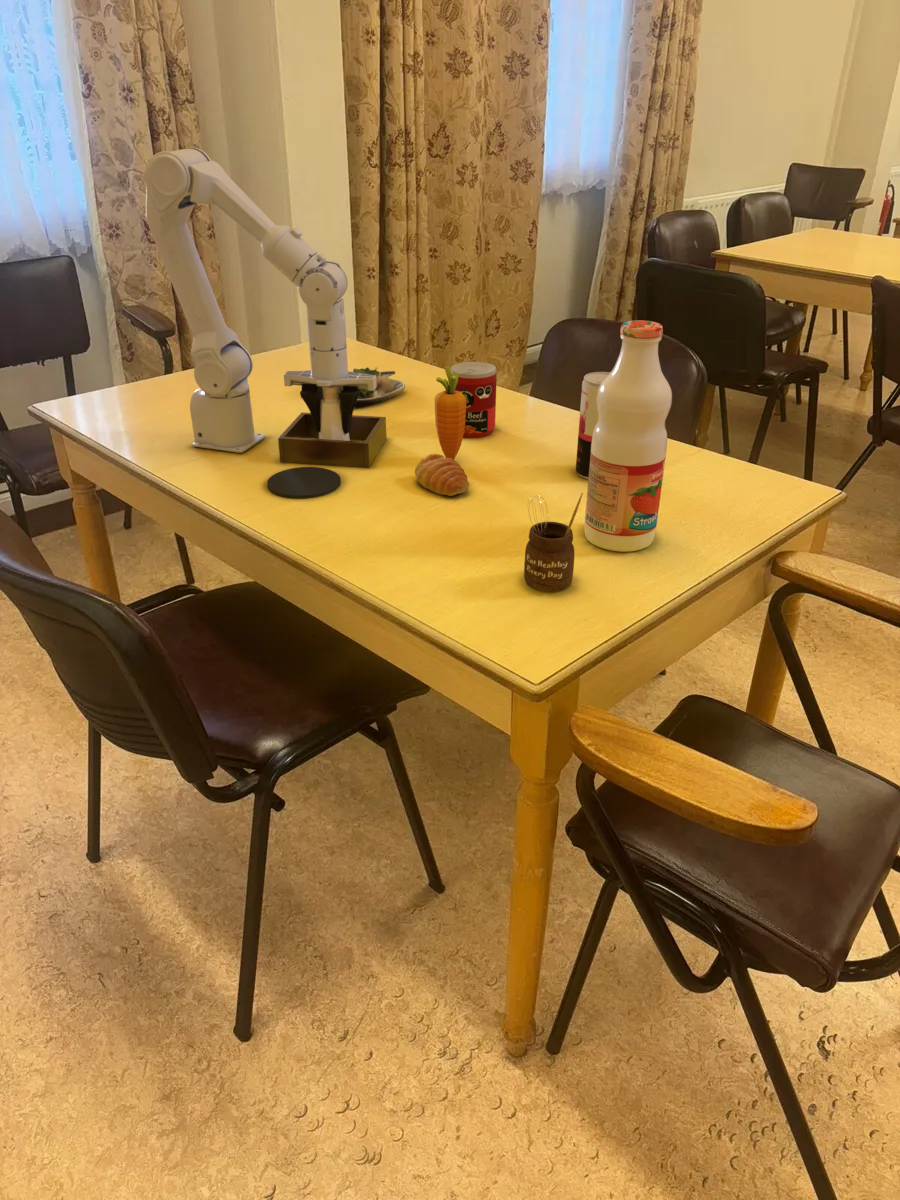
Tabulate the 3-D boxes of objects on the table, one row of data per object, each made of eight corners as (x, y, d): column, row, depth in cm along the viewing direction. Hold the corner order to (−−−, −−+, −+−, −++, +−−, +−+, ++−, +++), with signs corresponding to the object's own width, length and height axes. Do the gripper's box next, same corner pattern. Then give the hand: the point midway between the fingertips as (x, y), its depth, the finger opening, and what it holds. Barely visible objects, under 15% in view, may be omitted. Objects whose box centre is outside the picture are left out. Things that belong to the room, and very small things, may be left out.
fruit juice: (592, 517, 125) (611, 312, 111) (660, 528, 122) (688, 319, 108) (575, 546, 117) (593, 330, 103) (647, 558, 114) (676, 337, 100)
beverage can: (571, 478, 137) (578, 382, 129) (580, 463, 142) (588, 369, 135) (613, 484, 135) (623, 386, 127) (621, 468, 140) (631, 374, 133)
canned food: (443, 435, 153) (443, 371, 148) (460, 420, 160) (461, 359, 154) (485, 441, 151) (486, 376, 145) (501, 426, 157) (503, 364, 152)
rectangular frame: (280, 462, 142) (277, 438, 140) (303, 434, 153) (301, 412, 151) (369, 467, 140) (368, 443, 138) (386, 439, 151) (385, 416, 149)
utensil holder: (528, 567, 112) (533, 478, 106) (578, 574, 111) (586, 484, 105) (518, 589, 107) (522, 498, 101) (570, 597, 106) (577, 505, 100)
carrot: (462, 469, 140) (463, 374, 132) (431, 466, 141) (430, 372, 133) (468, 457, 144) (469, 365, 137) (438, 455, 145) (437, 363, 138)
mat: (253, 492, 132) (253, 489, 132) (288, 466, 141) (288, 463, 141) (321, 502, 129) (321, 499, 129) (352, 474, 138) (352, 471, 138)
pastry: (480, 492, 132) (480, 468, 130) (441, 502, 129) (441, 478, 127) (447, 471, 139) (447, 448, 137) (409, 480, 136) (409, 457, 134)
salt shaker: (337, 442, 150) (333, 377, 145) (358, 450, 147) (354, 384, 141) (311, 450, 147) (306, 384, 141) (332, 459, 144) (327, 392, 138)
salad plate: (369, 371, 185) (368, 349, 183) (427, 390, 174) (427, 367, 172) (292, 391, 174) (290, 368, 171) (349, 413, 163) (348, 388, 160)
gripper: (274, 351, 136) (282, 436, 143) (367, 355, 134) (371, 441, 141) (288, 339, 142) (296, 421, 149) (378, 343, 140) (381, 426, 147)
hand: (333, 430), depth 145 cm, fingers closed on salt shaker, 4 cm apart
